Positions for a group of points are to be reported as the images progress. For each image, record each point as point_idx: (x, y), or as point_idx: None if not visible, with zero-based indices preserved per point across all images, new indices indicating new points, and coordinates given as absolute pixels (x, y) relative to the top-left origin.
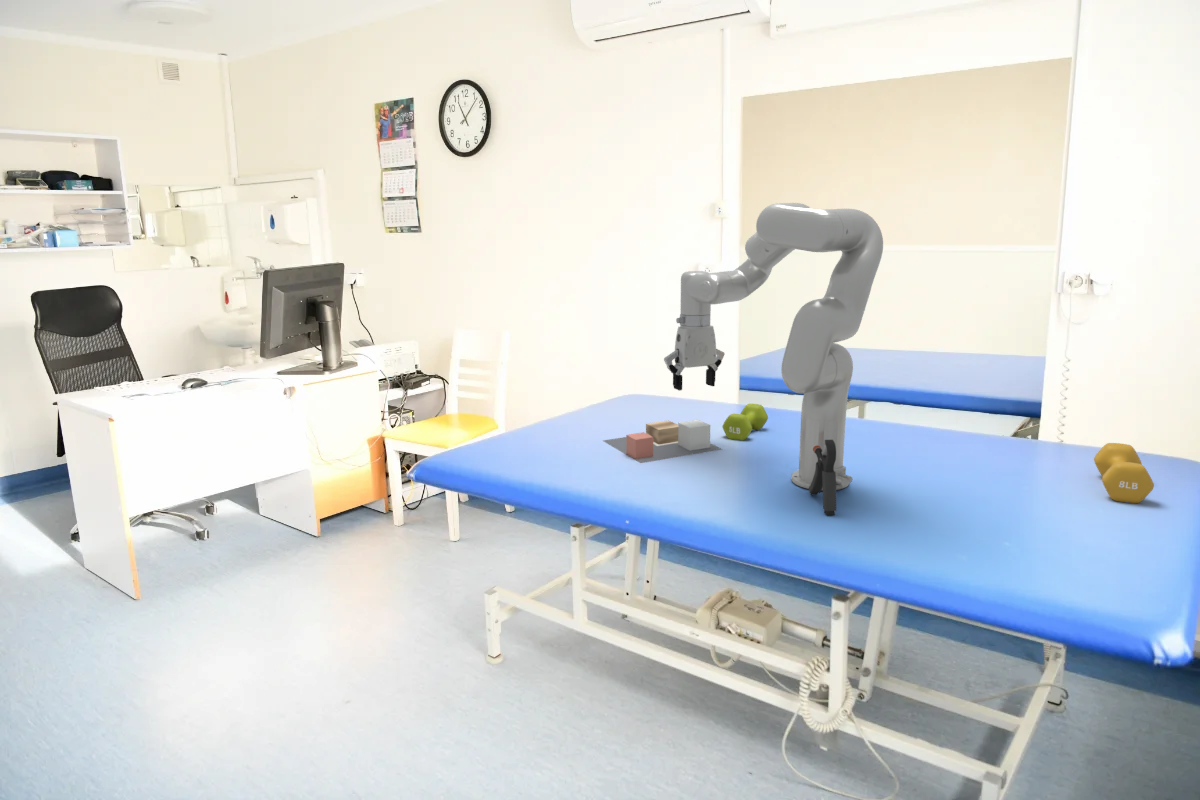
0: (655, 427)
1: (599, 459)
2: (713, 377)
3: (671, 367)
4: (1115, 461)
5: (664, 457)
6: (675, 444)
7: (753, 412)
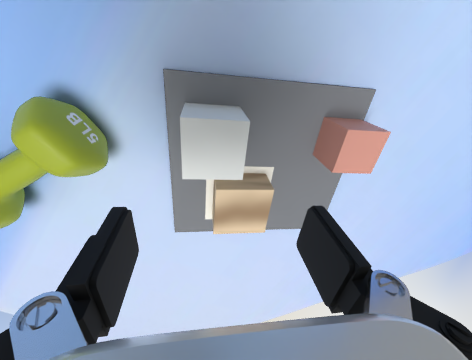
0: (267, 205)
1: (389, 157)
2: (102, 243)
3: (468, 331)
4: None
5: (314, 95)
6: None
7: None
